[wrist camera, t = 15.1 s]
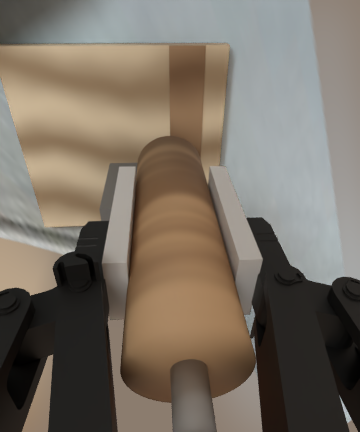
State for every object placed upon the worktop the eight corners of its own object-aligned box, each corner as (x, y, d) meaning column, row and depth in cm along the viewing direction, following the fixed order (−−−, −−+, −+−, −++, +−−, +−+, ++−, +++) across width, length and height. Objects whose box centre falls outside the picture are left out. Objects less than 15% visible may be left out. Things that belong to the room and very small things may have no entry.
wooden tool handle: (135, 135, 17) (106, 403, 6) (203, 135, 18) (290, 392, 6) (138, 193, 19) (120, 472, 8) (198, 193, 20) (259, 462, 9)
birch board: (-4, 43, 27) (-10, 46, 26) (227, 43, 28) (230, 45, 27) (47, 220, 37) (44, 227, 36) (213, 214, 38) (214, 221, 37)
